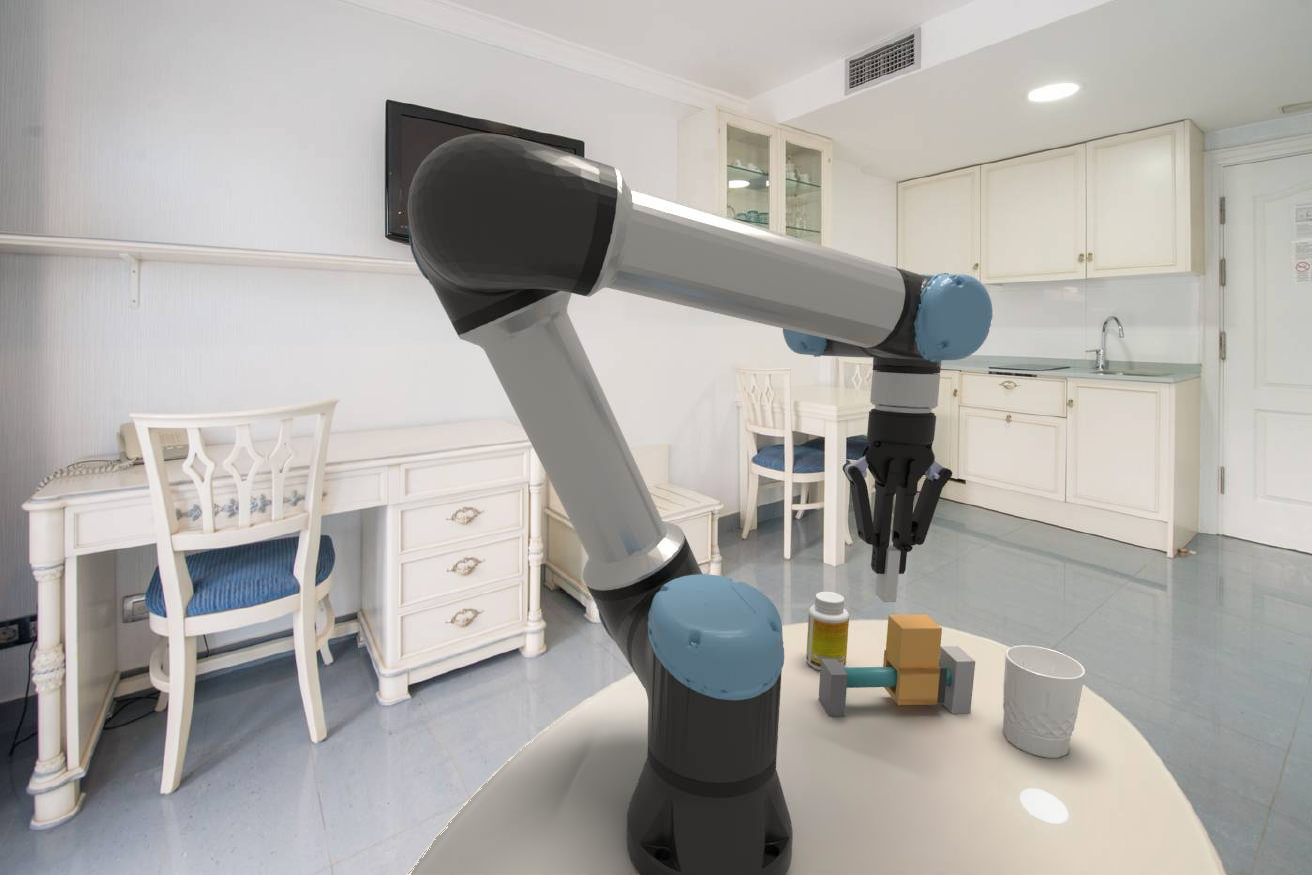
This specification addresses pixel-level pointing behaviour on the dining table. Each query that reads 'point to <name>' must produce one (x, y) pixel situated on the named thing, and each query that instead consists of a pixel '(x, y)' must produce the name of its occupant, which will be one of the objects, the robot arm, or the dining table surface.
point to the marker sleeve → (913, 658)
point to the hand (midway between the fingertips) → (885, 597)
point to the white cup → (1041, 699)
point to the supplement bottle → (827, 630)
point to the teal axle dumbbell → (950, 691)
